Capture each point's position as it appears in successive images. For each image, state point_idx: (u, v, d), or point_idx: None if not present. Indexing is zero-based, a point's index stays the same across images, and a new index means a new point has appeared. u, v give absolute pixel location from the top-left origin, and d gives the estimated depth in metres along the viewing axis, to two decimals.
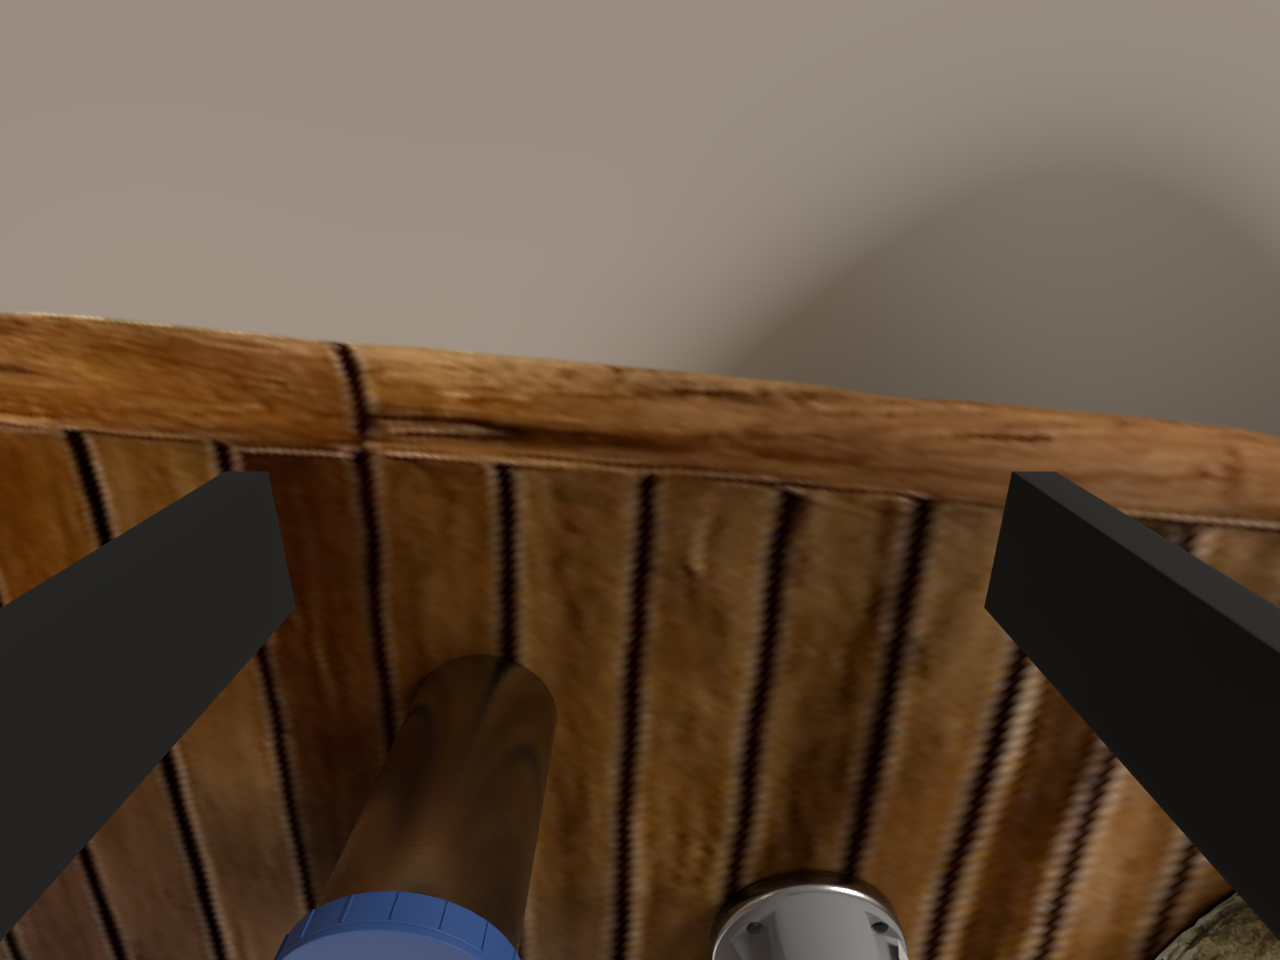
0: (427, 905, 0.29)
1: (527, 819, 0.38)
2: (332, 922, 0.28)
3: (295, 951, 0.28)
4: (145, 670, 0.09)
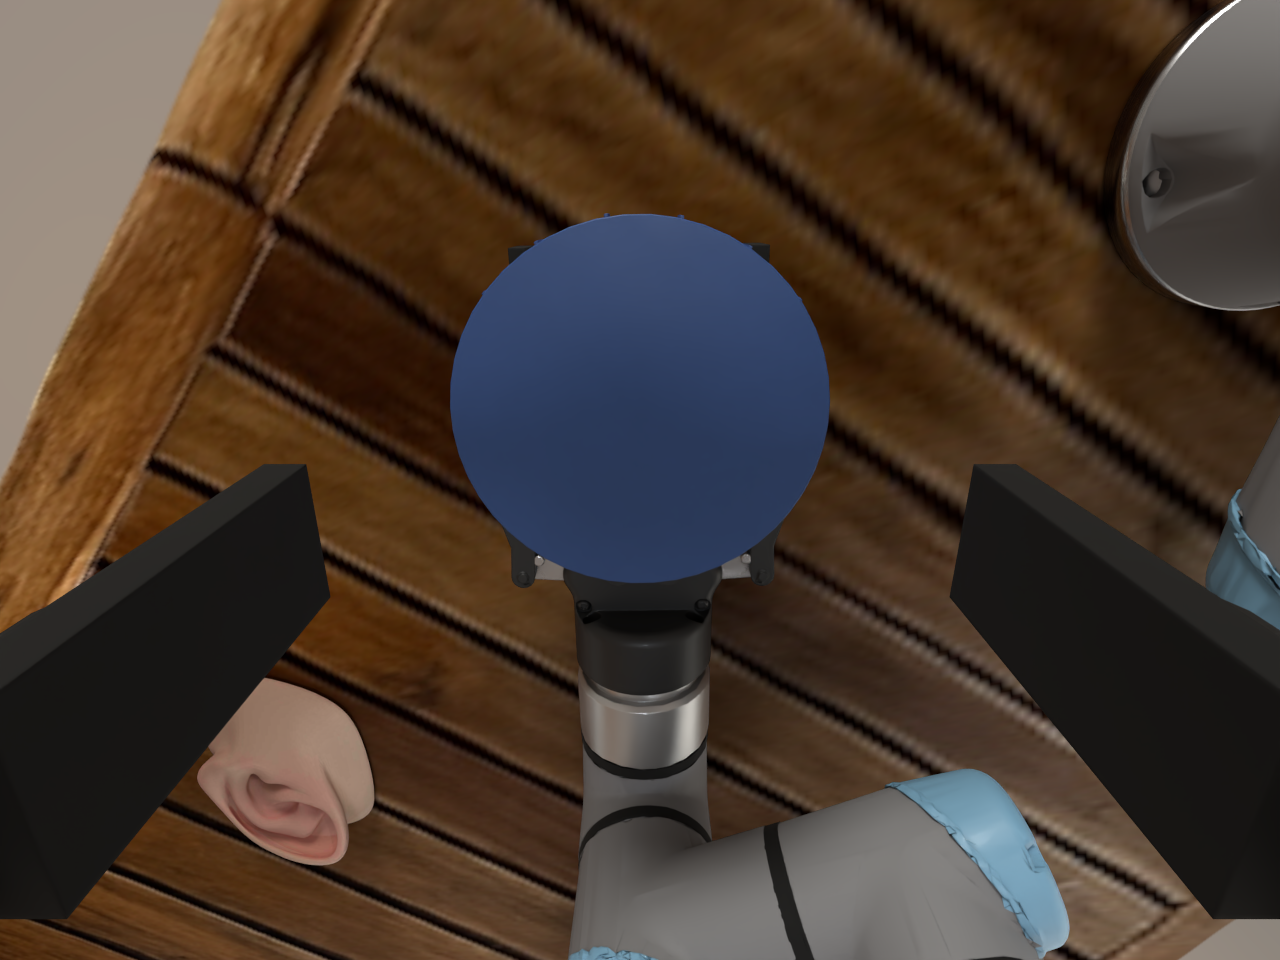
0: None
1: None
2: None
3: (457, 435, 0.20)
4: (200, 652, 0.09)
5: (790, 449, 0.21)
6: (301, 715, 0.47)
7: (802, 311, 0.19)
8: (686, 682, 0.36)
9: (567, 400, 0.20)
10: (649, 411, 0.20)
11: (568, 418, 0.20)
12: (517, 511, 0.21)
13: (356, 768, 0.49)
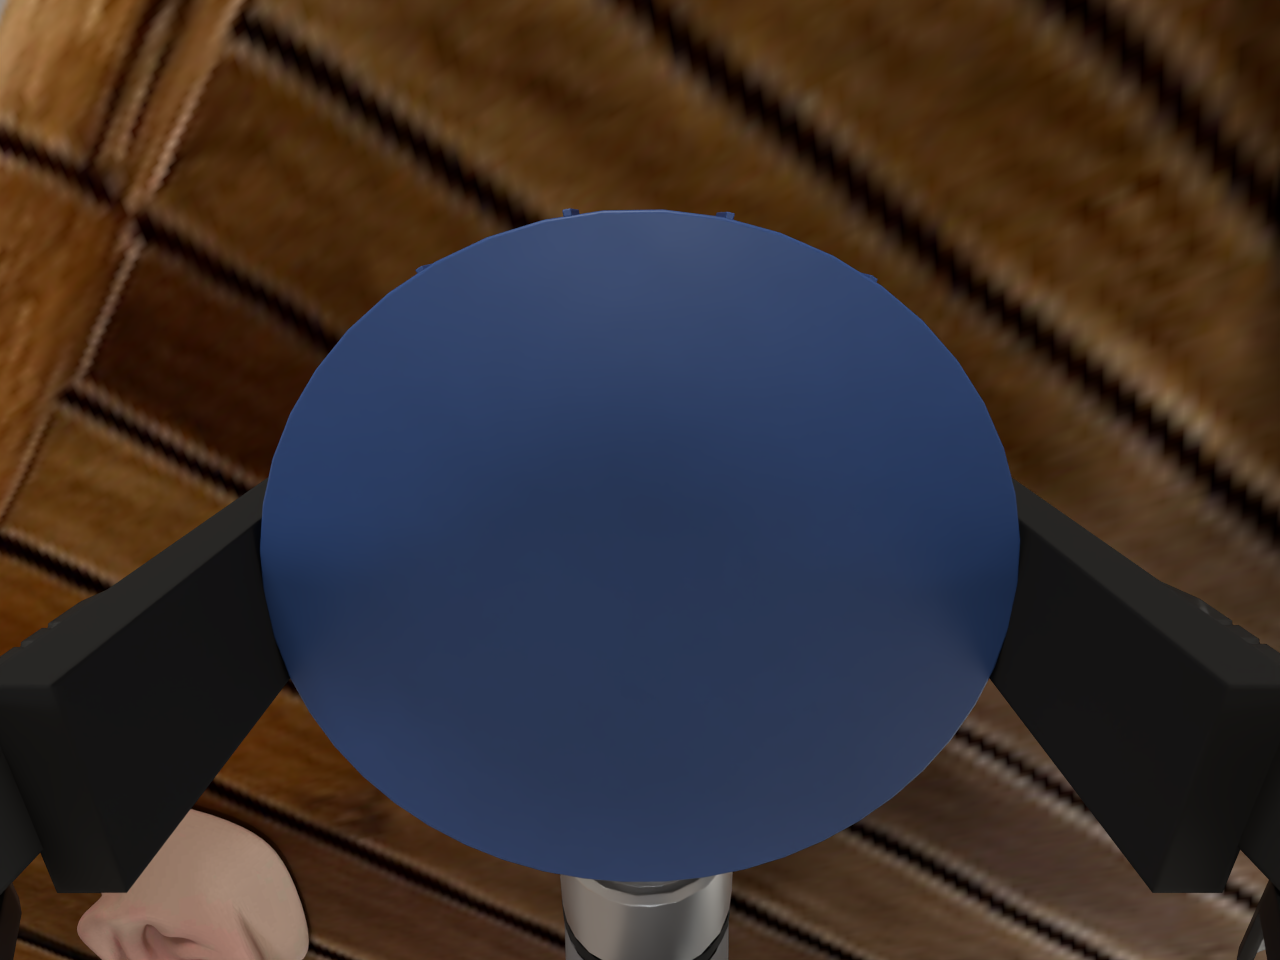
0: None
1: None
2: None
3: (282, 643, 0.10)
4: (242, 640, 0.10)
5: (932, 667, 0.11)
6: (209, 851, 0.37)
7: (978, 413, 0.09)
8: None
9: (496, 581, 0.10)
10: (658, 601, 0.10)
11: (498, 613, 0.10)
12: (409, 770, 0.11)
13: (283, 910, 0.39)
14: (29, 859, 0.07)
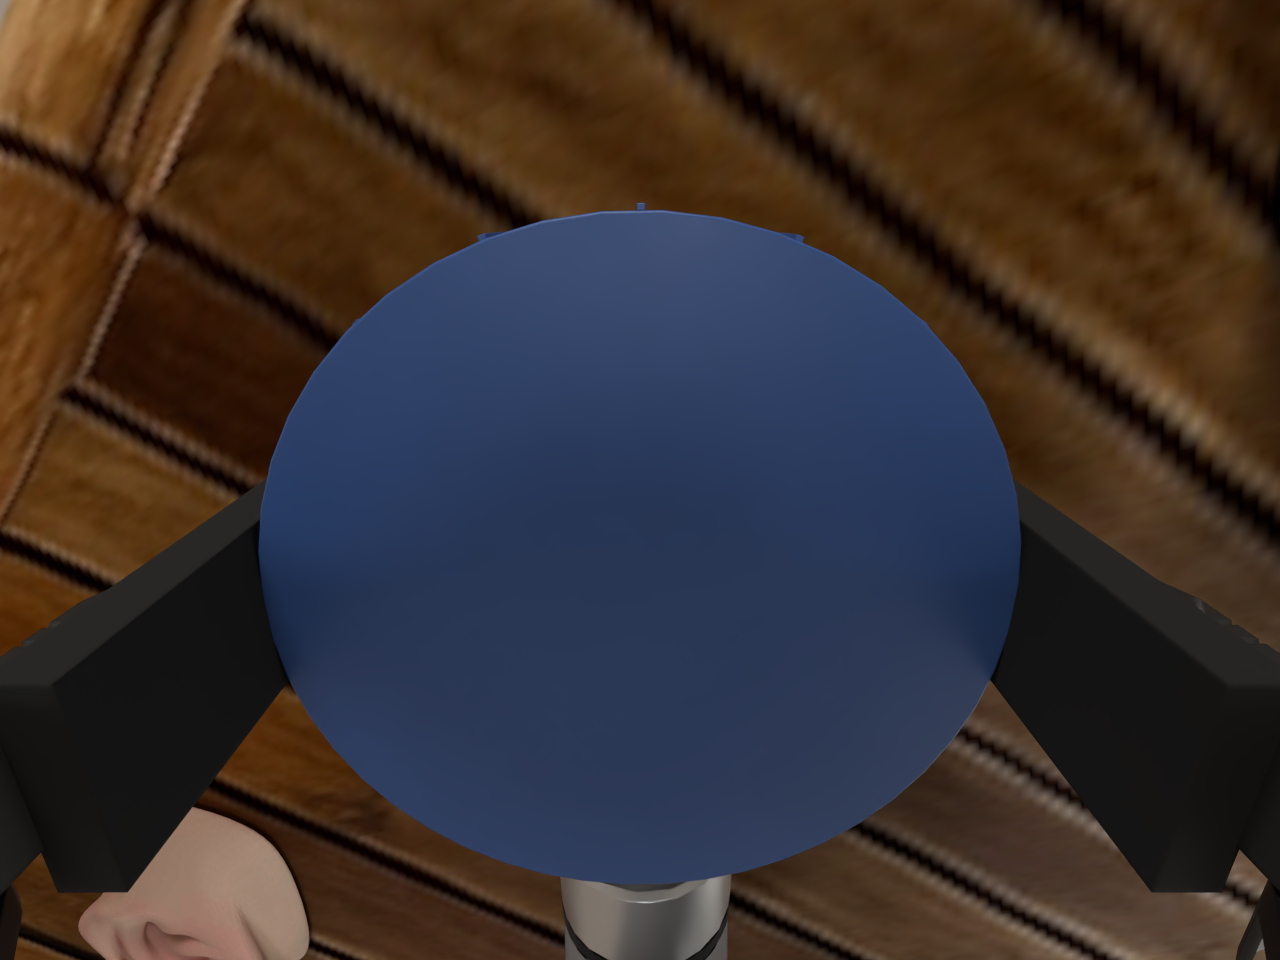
0: None
1: None
2: None
3: (592, 877, 0.12)
4: (243, 640, 0.10)
5: (807, 334, 0.09)
6: (210, 848, 0.37)
7: (495, 245, 0.08)
8: None
9: (575, 717, 0.11)
10: (634, 594, 0.10)
11: (609, 724, 0.11)
12: (754, 837, 0.12)
13: (284, 907, 0.39)
14: (29, 859, 0.07)
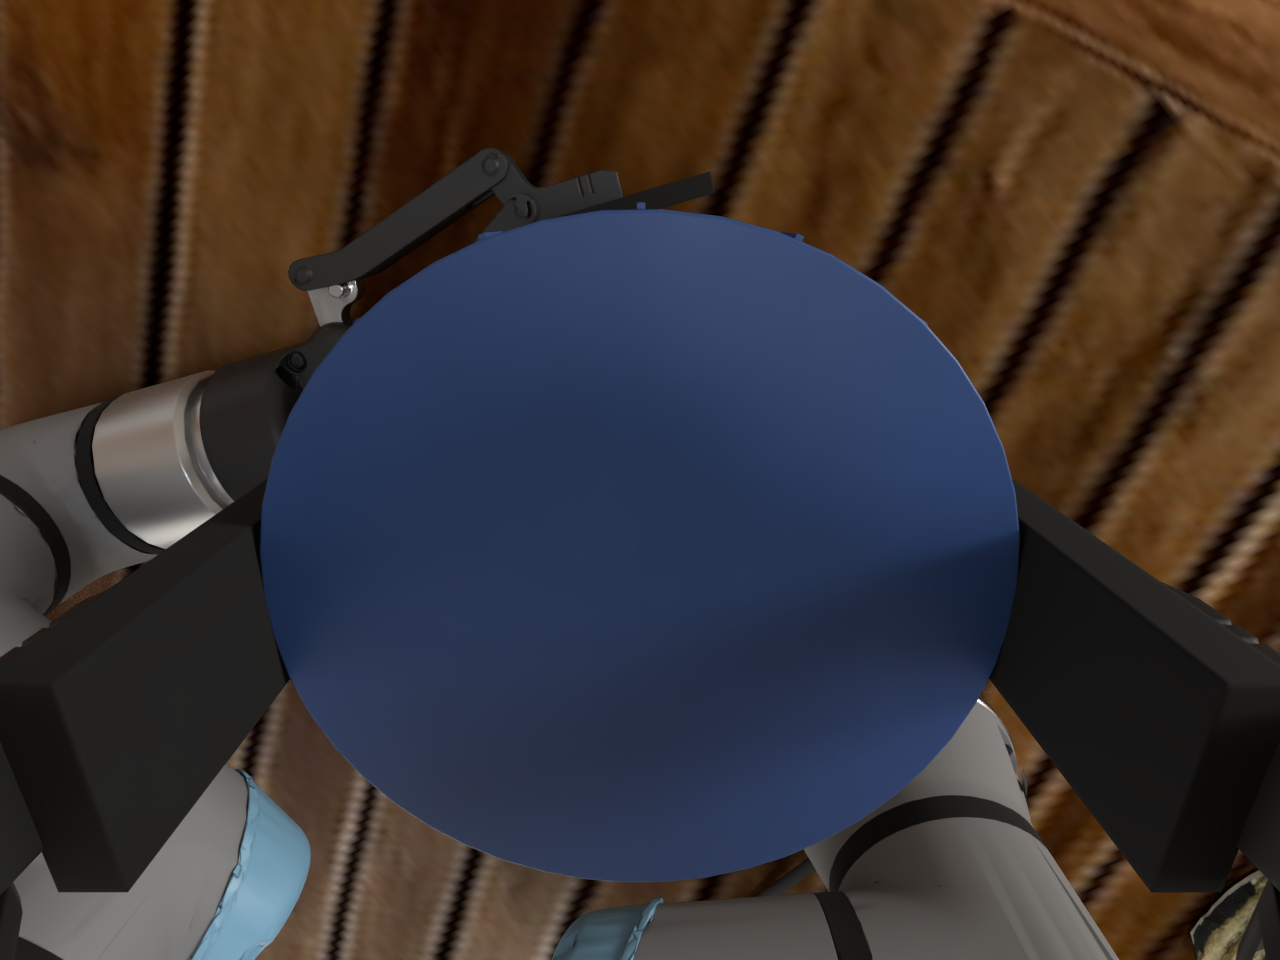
0: None
1: None
2: None
3: (592, 875, 0.12)
4: (243, 640, 0.10)
5: (807, 332, 0.09)
6: None
7: (496, 244, 0.08)
8: None
9: (575, 714, 0.11)
10: (634, 592, 0.10)
11: (608, 722, 0.11)
12: (753, 835, 0.12)
13: None
14: (29, 858, 0.07)
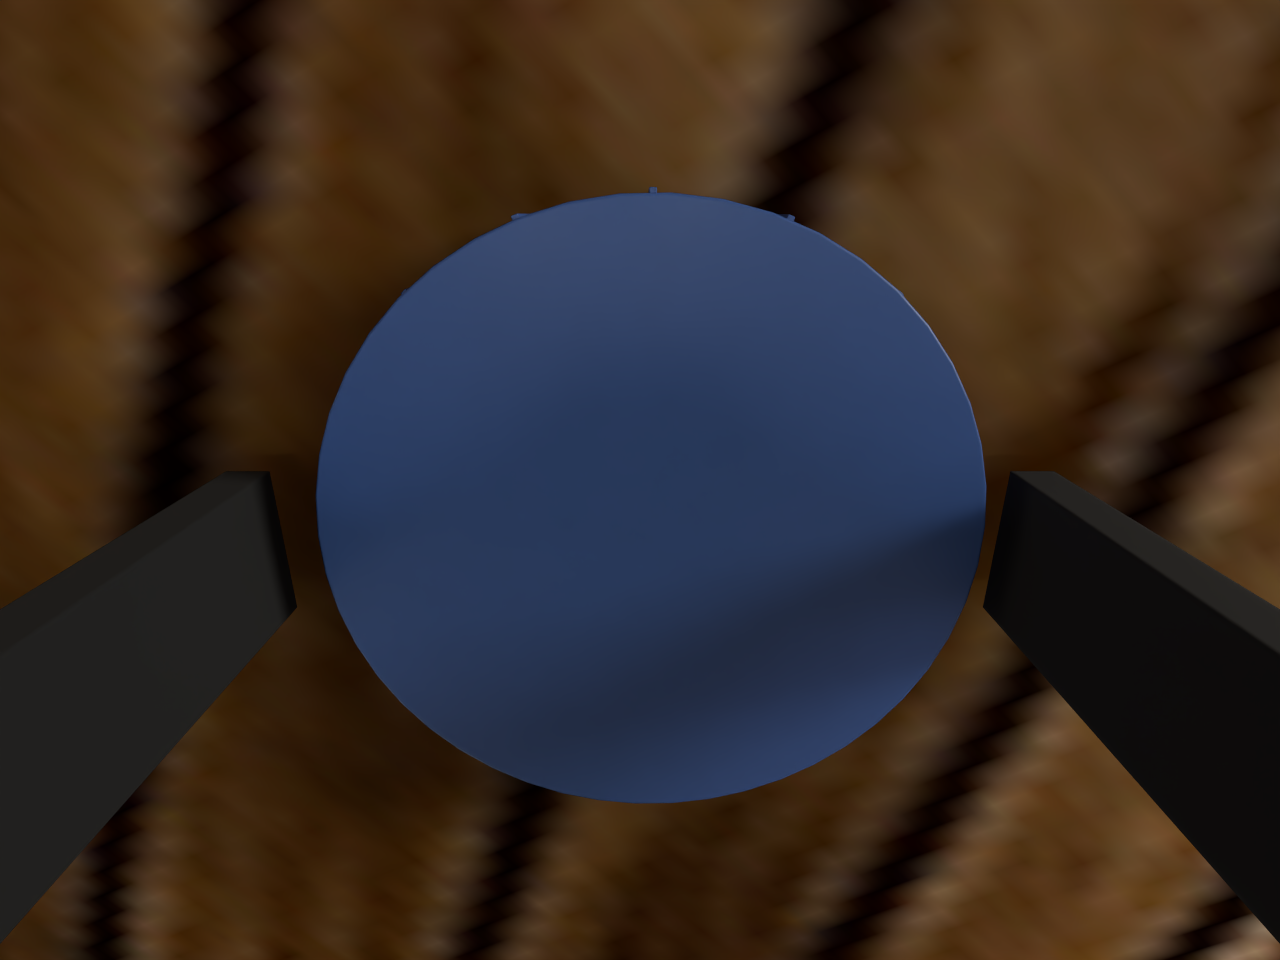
0: None
1: None
2: None
3: (605, 796, 0.14)
4: (147, 669, 0.09)
5: (797, 300, 0.10)
6: None
7: (528, 223, 0.10)
8: None
9: (592, 647, 0.12)
10: (645, 534, 0.11)
11: (622, 653, 0.12)
12: (751, 759, 0.13)
13: None
14: None
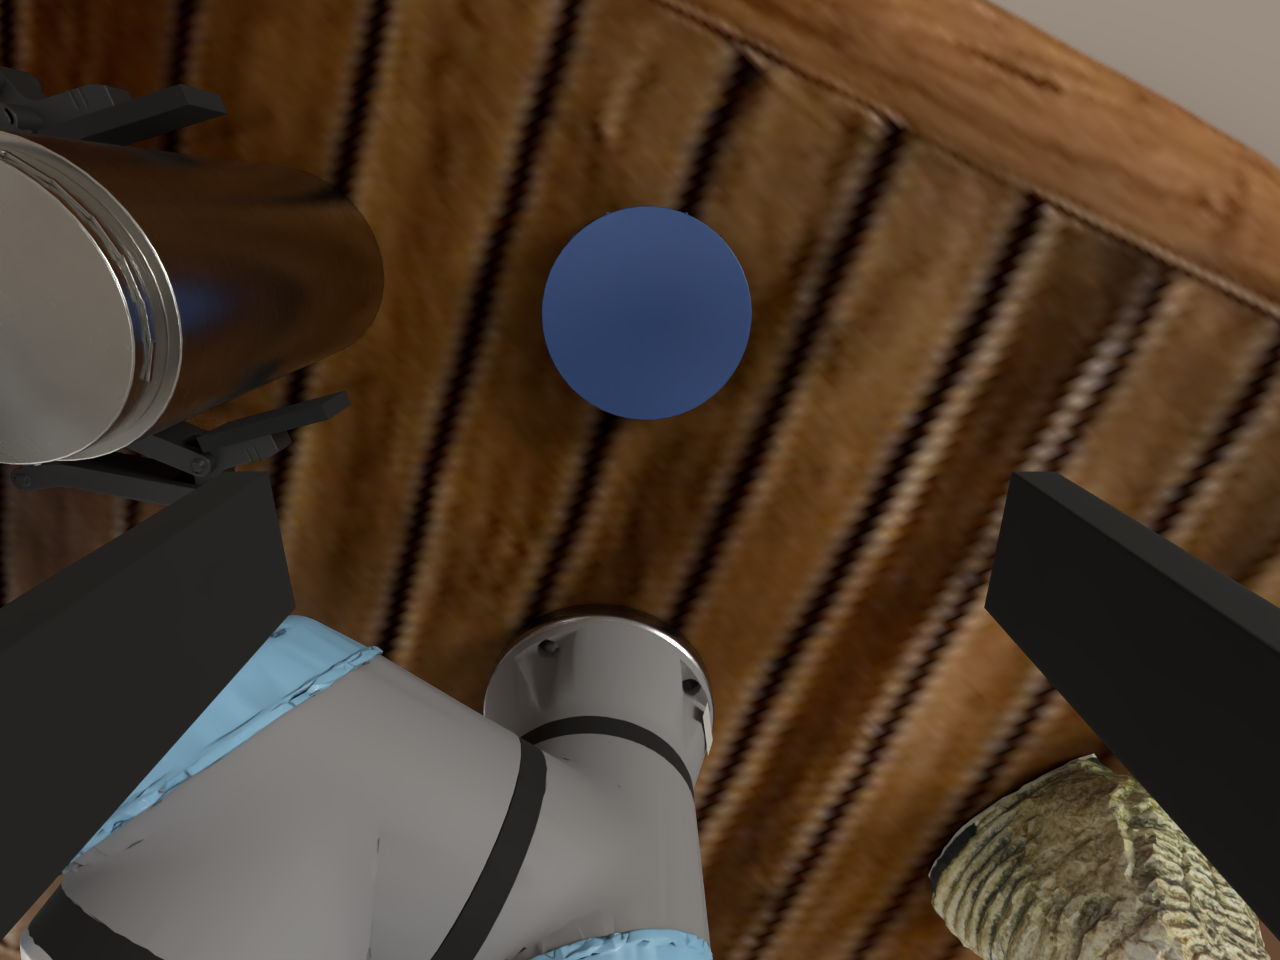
0: None
1: (287, 278, 0.27)
2: None
3: (631, 417, 0.39)
4: (146, 670, 0.09)
5: (688, 237, 0.35)
6: None
7: (612, 214, 0.35)
8: None
9: (627, 354, 0.37)
10: (644, 313, 0.36)
11: (637, 357, 0.37)
12: (681, 400, 0.38)
13: None
14: None
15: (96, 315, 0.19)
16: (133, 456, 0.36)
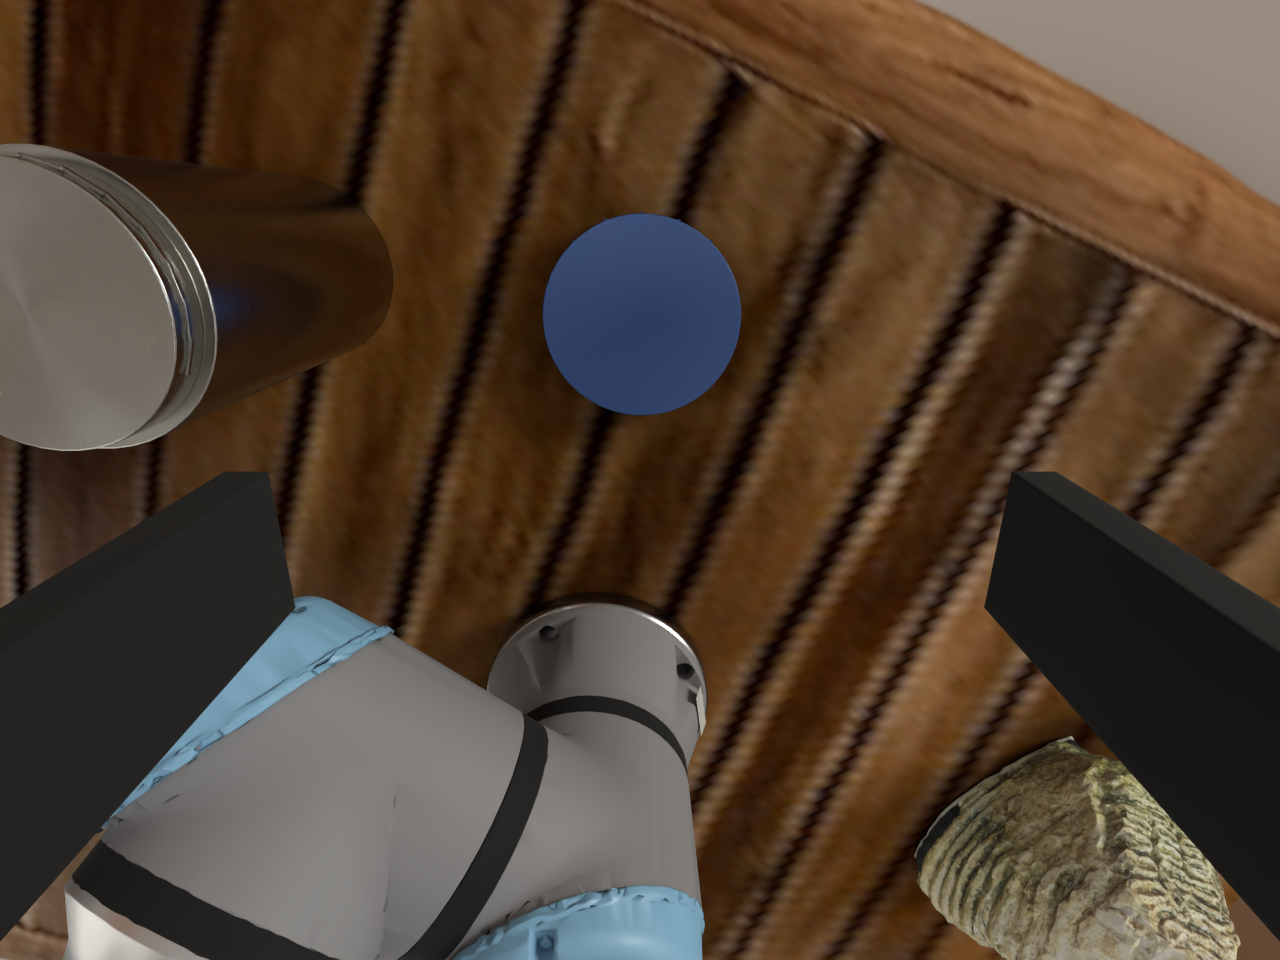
0: None
1: (307, 281, 0.29)
2: None
3: (627, 412, 0.41)
4: (145, 670, 0.09)
5: (681, 242, 0.37)
6: None
7: (609, 221, 0.37)
8: None
9: (624, 353, 0.39)
10: (640, 314, 0.39)
11: (633, 356, 0.39)
12: (675, 396, 0.40)
13: None
14: None
15: (142, 314, 0.21)
16: None
